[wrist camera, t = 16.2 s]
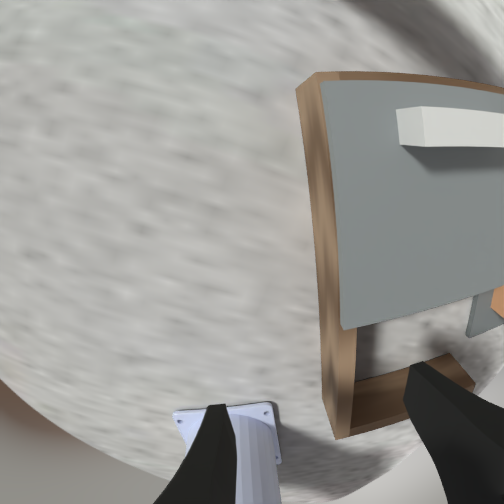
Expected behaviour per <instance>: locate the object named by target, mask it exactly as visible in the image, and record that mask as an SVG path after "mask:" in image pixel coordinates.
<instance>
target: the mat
mask: <svg viewBox="0 0 504 504" xmlns="http://www.w3.org/2000/svg"><path fill="white" fill-rule="evenodd" d="M493 292H494V289H492V290H489V291H486V292H483V293H480V294H477V295H474V297H473V302H472V308H471V313H470V317H469V322H468V327H467V331H466V336H467V337H468V338H471V337H474V336H476V335H479V334H481V333H484V332H486V331H488V330H491V329H493V328H495V327H498V326H500V325H502V324H504V318H503V317H502V316H500V315H499V314H498V313H497V312H496V311H494V310H493V309H492V308H491V302H492V298H493Z"/></svg>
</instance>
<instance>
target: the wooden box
mask: <svg viewBox="0 0 504 504" xmlns="http://www.w3.org/2000/svg"><path fill="white" fill-rule="evenodd" d="M339 80H377V81H402V82H417V83H429V84H439V85H448V86H456V87H463V88H470V89H476V90H482V91H488V92H493V93H498V94H503V95H504V88H502V87H497V86H492V85H488V84H482V83H477V82H471V81H466V80H459V79H452V78H445V77H437V76H428V75H418V74H406V73H391V72H360V71H341V72H315V73H314V74H313V75H312V76H311V77H309V78H308V79H307V80H306V81H305V82H303V83H302V84H301V85H300V86H299V87H297V88H296V96H297V102H298V108H299V115H300V122H301V129H302V136H303V143H304V151H305V159H306V167H307V175H308V184H309V193H310V202H311V212H312V222H313V232H314V244H315V256H316V269H317V283H318V299H319V316H320V338H321V367H322V399H323V402H324V405H325V409H326V412H327V415H328V418H329V421H330V424H331V427H332V431H333V434H334V437H335V440H338V439H342V438H346V437H350V436H354V435H357V434H361V433H365V432H368V431H372V430H375V429H378V428H382V427H385V426H388V425H391V424H394V423H397V422H400V421H403V420H406V419H409V418H410V417H409V415H408V412H407V410H406V407H405V405H404V402H403V396H404V392H405V387H406V383H407V378H408V373H409V368H410V367H407V368H404V369H401V370H398V371H394V372H391V373H387V374H384V375H380V376H377V377H373V378H369V379H366V380H362V381H358V382H354V378H355V362H356V340H357V328H352V329H348V330H343V328H342V326H341V324H340V286H339V261H338V243H337V227H336V214H335V201H334V190H333V180H332V170H331V161H330V152H329V144H328V136H327V128H326V121H325V114H324V107H323V101H322V94H321V88H320V83H321V82H323V81H339ZM425 363H426V364H428V365H430V366H431V367H433V368H434V369H435V370H437V371H438V372H440V373H441V374H443V375H444V376H446V377H447V378H449V379H450V380H452V381H453V382H455V383H456V384H458V385H460V386H461V387H463V388H464V389H466V390H468V391H469V392H471V393H472V392H473V390H474V387H475V384H476V383H475V382H474V381H473V380H472V378H471V377H470V376H469V375H468V374H467V372H466V371H465V370H464V369H463V368H462V367H461V365H460V364H459V363H458V362H457V361H456V360H455V358H454V357H453V356H452V355H451V354H450V353H448V354H446V355H443V356H440V357H437V358H434V359H432V360H429V361H426V362H425Z"/></svg>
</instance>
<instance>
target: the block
mask: <svg viewBox="0 0 504 504" xmlns="http://www.w3.org/2000/svg"><path fill="white" fill-rule="evenodd" d="M491 308H492V309H493V310H494V311H496V312H497V313H498V314H499V315H500V316H502V317H503V318H504V285H503V286H501V287H498V288H495V289H494V292H493V298H492V302H491Z"/></svg>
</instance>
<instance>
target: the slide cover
mask: <svg viewBox="0 0 504 504" xmlns="http://www.w3.org/2000/svg"><path fill="white" fill-rule="evenodd" d="M320 88H321V94H322V101H323V107H324V114H325V121H326V128H327V136H328V144H329V152H330V161H331V170H332V180H333V190H334V201H335V214H336V227H337V243H338V261H339V286H340V324H341V326H342V328H343V330H348V329H352V328H357V327H361V326H366V325H370V324H374V323H378V322H383V321H387V320H391V319H395V318H398V317H402V316H406V315H410V314H414V313H417V312H421V311H425V310H428V309H432V308H435V307H439V306H442V305H445V304H449V303H452V302H455V301H458V300H462V299H465V298H468V297H471V296H474V295H477V294H480V293H483V292H486V291H489V290H492V289H495V288H498V287H501V286H503V285H504V95H503V94H498V93H493V92H488V91H482V90H476V89H470V88H463V87H456V86H448V85H439V84H429V83H417V82H402V81H377V80H339V81H323V82H321V83H320Z"/></svg>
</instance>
